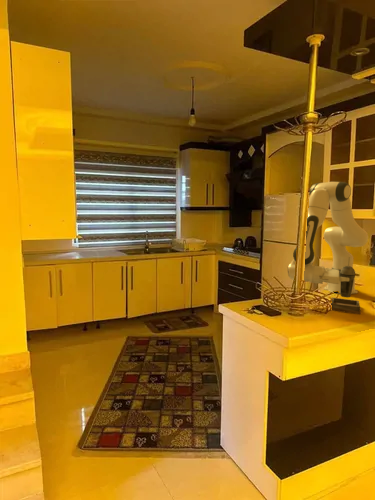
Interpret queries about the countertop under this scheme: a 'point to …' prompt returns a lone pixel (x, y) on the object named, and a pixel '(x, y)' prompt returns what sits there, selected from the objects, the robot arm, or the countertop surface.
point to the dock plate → (346, 305)
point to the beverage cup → (347, 285)
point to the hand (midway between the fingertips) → (349, 277)
